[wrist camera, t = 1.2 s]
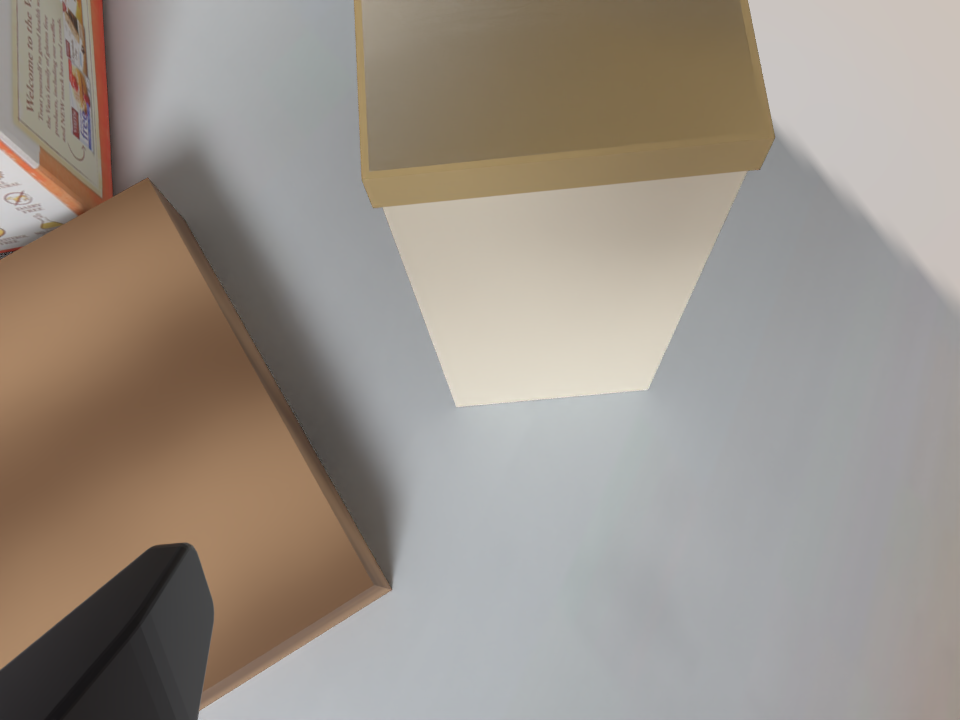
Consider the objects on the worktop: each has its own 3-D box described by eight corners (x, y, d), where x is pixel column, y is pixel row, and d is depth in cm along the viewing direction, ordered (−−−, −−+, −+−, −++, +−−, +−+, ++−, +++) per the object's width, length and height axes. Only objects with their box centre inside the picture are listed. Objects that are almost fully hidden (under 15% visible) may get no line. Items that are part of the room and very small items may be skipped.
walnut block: (394, 590, 22) (373, 584, 20) (-36, 861, 21) (-127, 897, 18) (191, 227, 26) (147, 177, 23) (-191, 444, 25) (-288, 419, 22)
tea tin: (652, 393, 23) (774, 137, 11) (452, 411, 23) (361, 179, 11) (629, 228, 24) (716, -157, 12) (441, 247, 25) (349, -116, 13)
